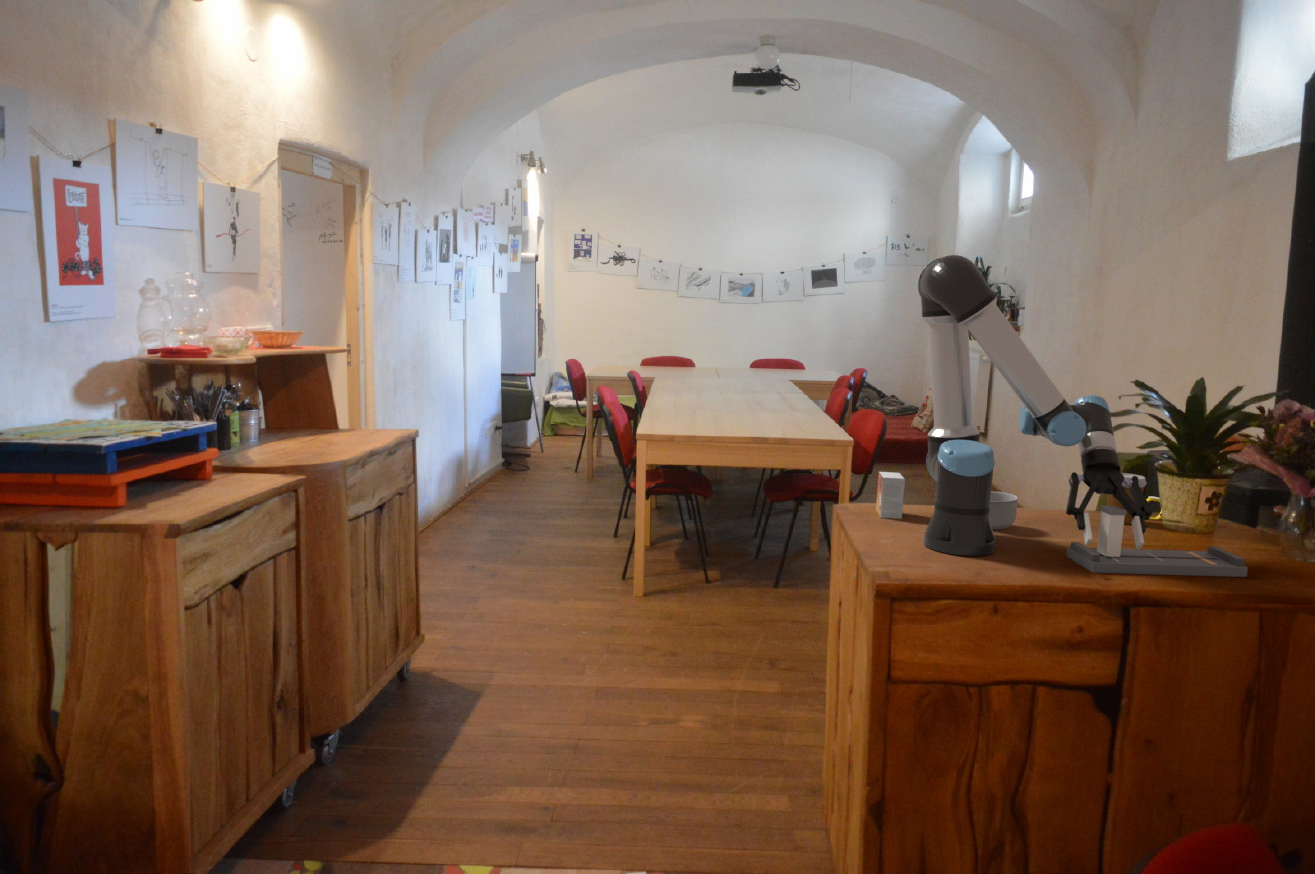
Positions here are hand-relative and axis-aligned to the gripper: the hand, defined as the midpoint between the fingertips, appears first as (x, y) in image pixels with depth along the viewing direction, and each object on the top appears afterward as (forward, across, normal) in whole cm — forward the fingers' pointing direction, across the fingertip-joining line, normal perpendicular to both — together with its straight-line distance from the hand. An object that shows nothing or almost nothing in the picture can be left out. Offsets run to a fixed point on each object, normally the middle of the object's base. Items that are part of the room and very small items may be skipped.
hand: (1114, 544), depth 190 cm
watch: (-34, -26, -42) cm, 59 cm away
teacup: (-20, +18, -28) cm, 39 cm away
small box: (-22, +43, -30) cm, 57 cm away
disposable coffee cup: (-30, -16, -38) cm, 51 cm away
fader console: (0, -10, -7) cm, 12 cm away
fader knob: (0, 0, -4) cm, 4 cm away
